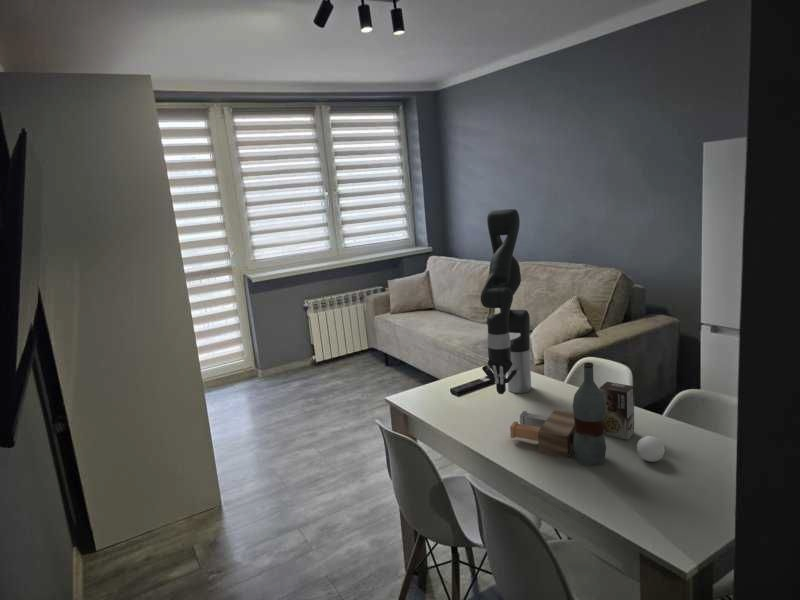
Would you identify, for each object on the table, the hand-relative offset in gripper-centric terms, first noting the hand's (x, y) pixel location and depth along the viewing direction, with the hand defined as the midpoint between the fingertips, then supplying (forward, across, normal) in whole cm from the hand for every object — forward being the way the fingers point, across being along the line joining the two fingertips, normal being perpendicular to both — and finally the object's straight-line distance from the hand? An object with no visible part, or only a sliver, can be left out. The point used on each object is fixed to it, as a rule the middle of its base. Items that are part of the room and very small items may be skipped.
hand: (501, 393), depth 184 cm
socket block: (+12, -22, +4) cm, 25 cm away
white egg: (+12, -47, +4) cm, 49 cm away
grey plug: (+10, -14, 0) cm, 17 cm away
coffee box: (+12, -36, -9) cm, 39 cm away
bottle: (+12, -32, +11) cm, 36 cm away
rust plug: (+10, -14, +9) cm, 19 cm away
